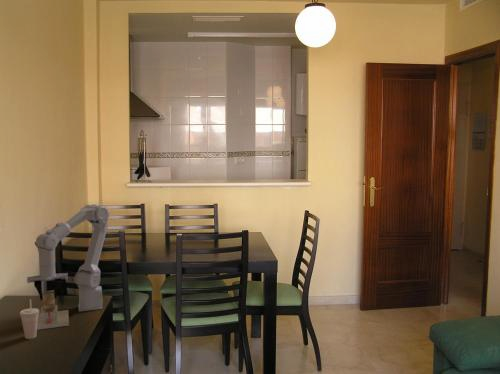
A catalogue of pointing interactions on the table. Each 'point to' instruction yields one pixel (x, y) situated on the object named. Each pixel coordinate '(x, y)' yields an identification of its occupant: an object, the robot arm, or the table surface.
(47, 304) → the post
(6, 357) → the table surface
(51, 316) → the jack base
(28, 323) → the smoothie
